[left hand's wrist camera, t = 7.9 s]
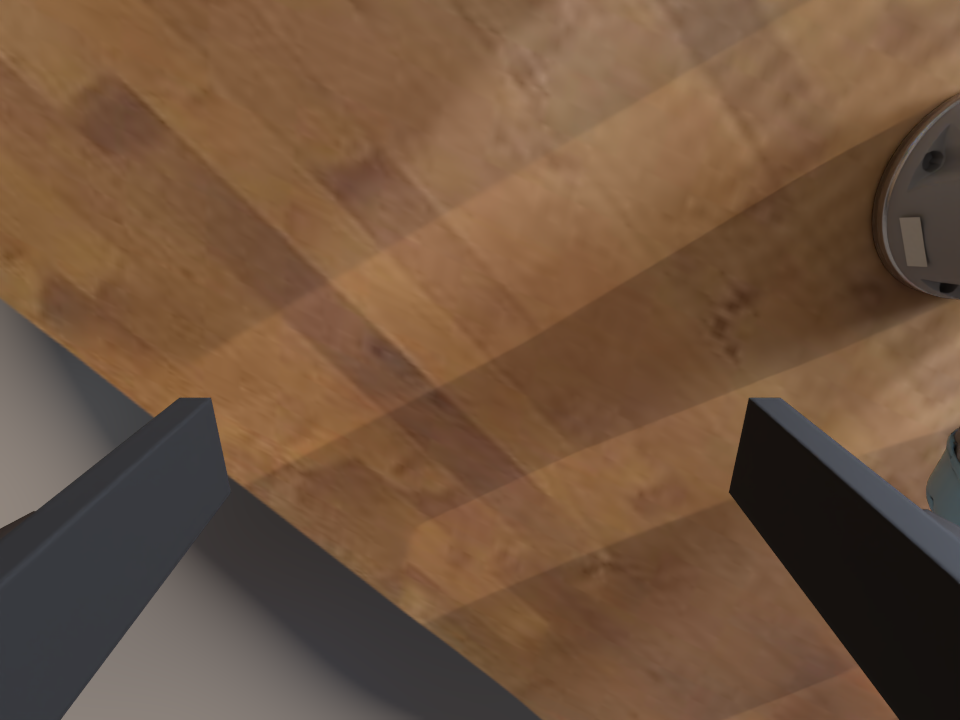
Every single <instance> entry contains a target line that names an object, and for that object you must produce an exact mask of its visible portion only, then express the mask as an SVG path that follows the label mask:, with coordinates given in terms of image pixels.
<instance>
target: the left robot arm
mask: <svg viewBox="0 0 960 720" xmlns="http://www.w3.org/2000/svg"><path fill="white" fill-rule="evenodd" d="M872 231H873V239H874V243H875V247H876V250H877V252H878V255H879V257H880V259H881V261H882V263H883V264H884V266H885V267H886V268H887V270H888V271H889V272H890V273H891V274H892V275H893V276H894V277H895V278H896V279H897V280H899V281H900V282H902V283H903V284H905V285H906V286H908V287H910V288H913V289H915V290H918V291H921V292H924V293H927V294H931V295H934V296H938V297H943V298H949V299H959V300H960V93H958V94H956V95H955V96H953V97H952V98H950V99H948V100H947V101H945V102H944V103H942V104H941V105H939V106H938V107H937V108H935V109H934V110H933V111H932V112H930V113H929V114H928V115H927V116H926V117H925V118H924V119H922V120H921V121H920V122H919V123H918V124H917V125H916V126H915V127H914V129H913V130H912V131H911V132H910V133H909V134H908V135H907V136H906V138H905V139H904V140H903V142H902V143H901V144H900V146H899V147H898V149H897V150H896V152H895V153H894V155H893V156H892V158H891V160H890V161H889V163H888V165H887V167H886V169H885V171H884V173H883V176H882V178H881V181H880V183H879V186H878V189H877V193H876V196H875V201H874V206H873V215H872ZM230 493H231V490H230V485H229V480H228V476H227V471H226V466H225V462H224V457H223V452H222V447H221V443H220V438H219V433H218V429H217V424H216V419H215V414H214V410H213V405H212V400H211V398H179V399H177V400H176V401H175V402H174V403H172V404H171V405H170V406H169V407H167V408H166V409H165V410H164V411H162V412H161V413H160V414H158V415H157V416H156V417H155V418H153V419H152V420H151V421H150V422H148V423H147V424H146V425H145V426H143V427H142V428H141V429H139V430H138V431H137V432H136V433H134V434H133V435H132V436H131V437H129V438H128V439H127V440H126V441H124V442H123V443H122V444H120V445H119V446H118V447H117V448H115V449H114V450H113V451H112V452H110V453H109V454H108V455H107V456H105V457H104V458H103V459H101V460H100V461H99V462H98V463H96V464H95V465H94V466H93V467H91V468H90V469H89V470H88V471H86V472H85V473H84V474H83V475H81V476H80V477H79V478H77V479H76V480H75V481H74V482H72V483H71V484H70V485H69V486H67V487H66V488H65V489H64V490H62V491H61V492H60V493H58V494H57V495H56V496H55V497H53V498H52V499H51V500H50V501H48V502H47V503H46V504H45V505H43V506H42V507H41V508H39V509H38V510H37V511H33V512H31V513H29V514H27V515H25V516H24V517H22V518H20V519H18V520H16V521H14V522H12V523H10V524H8V525H6V526H5V527H3V528H1V529H0V720H61V718H62V717H63V716H64V714H65V713H66V712H67V710H68V709H69V708H70V706H71V705H72V704H73V702H74V701H75V700H76V698H77V697H78V696H79V694H80V693H81V692H82V690H83V689H84V688H85V686H86V685H87V684H88V682H89V681H90V680H91V678H92V677H93V676H94V674H95V673H96V672H97V670H98V669H99V668H100V666H101V665H102V664H103V662H104V661H105V660H106V658H107V657H108V656H109V654H110V653H111V652H112V650H113V649H114V648H115V646H116V645H117V644H118V642H119V641H120V640H121V638H122V637H123V636H124V634H125V633H126V632H127V630H128V629H129V628H130V626H131V625H132V624H133V622H134V621H135V620H136V618H137V617H138V616H139V614H140V613H141V612H142V610H143V609H144V608H145V606H146V605H147V604H148V602H149V601H150V600H151V598H152V597H153V596H154V594H155V593H156V592H157V590H158V589H159V588H160V586H161V585H162V584H163V582H164V581H165V580H166V578H167V577H168V576H169V574H170V573H171V572H172V570H173V569H174V568H175V566H176V565H177V564H178V562H179V561H180V560H181V558H182V557H183V556H184V554H185V553H186V552H187V550H188V549H189V548H190V546H191V545H192V544H193V542H194V541H195V540H196V538H197V537H198V536H199V534H200V533H201V532H202V530H203V529H204V528H205V526H206V525H207V524H208V522H209V521H210V520H211V518H212V517H213V516H214V514H215V513H216V512H217V510H218V509H219V508H220V506H221V505H222V504H223V502H224V501H225V500H226V498H227V497H228V496H229V494H230ZM729 493H730V494H731V496H732V497H733V498H734V500H735V501H736V502H737V504H738V505H739V506H740V508H741V509H742V510H743V512H744V513H745V514H746V516H747V517H748V518H749V520H750V521H751V522H752V524H753V525H754V526H755V528H756V529H757V530H758V532H759V533H760V534H761V536H762V537H763V538H764V540H765V541H766V542H767V544H768V545H769V546H770V548H771V549H772V550H773V552H774V553H775V554H776V556H777V557H778V558H779V560H780V561H781V562H782V564H783V565H784V566H785V568H786V569H787V570H788V572H789V573H790V574H791V576H792V577H793V578H794V580H795V581H796V582H797V584H798V585H799V586H800V588H801V589H802V590H803V592H804V593H805V594H806V596H807V597H808V598H809V600H810V601H811V602H812V604H813V605H814V606H815V608H816V609H817V610H818V612H819V613H820V614H821V616H822V617H823V618H824V620H825V621H826V622H827V624H828V625H829V626H830V628H831V629H832V630H833V632H834V633H835V634H836V636H837V637H838V638H839V640H840V641H841V642H842V644H843V645H844V646H845V648H846V649H847V650H848V652H849V653H850V654H851V656H852V657H853V658H854V660H855V661H856V662H857V664H858V665H859V666H860V668H861V669H862V670H863V672H864V673H865V674H866V676H867V677H868V678H869V680H870V681H871V682H872V684H873V685H874V686H875V688H876V689H877V690H878V692H879V693H880V694H881V696H882V697H883V698H884V700H885V701H886V702H887V704H888V705H889V706H890V708H891V709H892V710H893V712H894V713H895V714H896V716H897V717H898V718H899V720H960V427H959V428H957V429H956V430H955V431H954V432H953V433H951V435H950V436H949V437H948V440H947V446H946V450H945V452H944V454H943V456H942V457H941V459H940V461H939V462H938V464H937V466H936V467H935V469H934V471H933V472H932V474H931V476H930V478H929V480H928V483H927V486H926V497H927V500H928V503H929V506H930V509H931V510H932V512H931V511H929V510H922V509H921V508H919V507H918V506H917V505H915V504H914V503H913V502H912V501H910V500H909V499H908V498H907V497H905V496H904V495H903V494H902V493H900V492H899V491H898V490H896V489H895V488H894V487H893V486H891V485H890V484H889V483H888V482H886V481H885V480H884V479H883V478H881V477H880V476H879V475H878V474H876V473H875V472H874V471H872V470H871V469H870V468H869V467H867V466H866V465H865V464H864V463H862V462H861V461H860V460H859V459H857V458H856V457H855V456H853V455H852V454H851V453H850V452H848V451H847V450H846V449H845V448H843V447H842V446H841V445H840V444H838V443H837V442H836V441H834V440H833V439H832V438H831V437H829V436H828V435H827V434H826V433H824V432H823V431H822V430H821V429H819V428H818V427H817V426H815V425H814V424H813V423H812V422H810V421H809V420H808V419H807V418H805V417H804V416H803V415H802V414H800V413H799V412H798V411H796V410H795V409H794V408H793V407H791V406H790V405H789V404H788V403H786V402H785V401H784V400H783V399H781V398H749V400H748V405H747V410H746V414H745V419H744V424H743V429H742V433H741V438H740V443H739V447H738V452H737V457H736V462H735V466H734V471H733V476H732V480H731V485H730V490H729Z"/></svg>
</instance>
